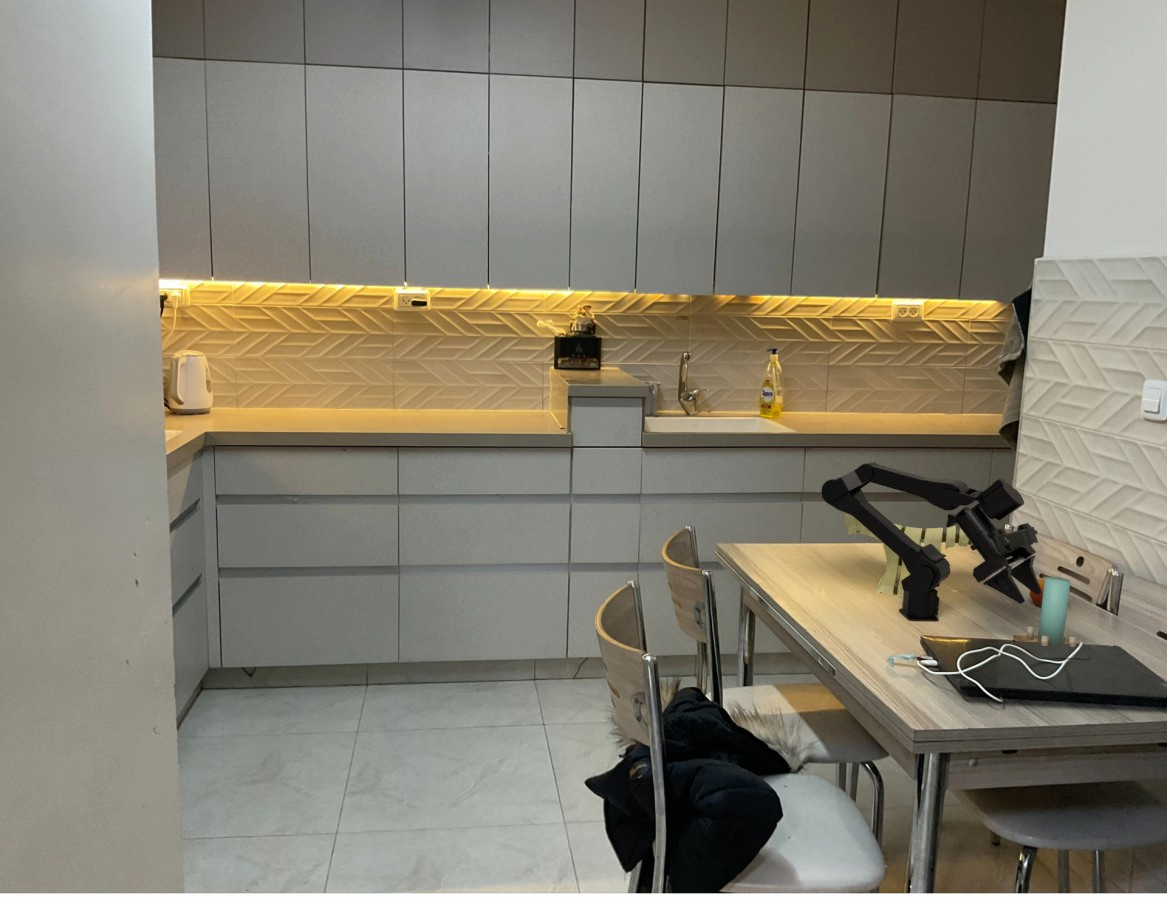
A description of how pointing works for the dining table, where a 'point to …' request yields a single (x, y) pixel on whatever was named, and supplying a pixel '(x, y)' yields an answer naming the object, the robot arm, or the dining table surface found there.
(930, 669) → the dining table surface
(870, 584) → the dining table surface
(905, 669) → the dining table surface
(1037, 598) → the fruit
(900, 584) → the slatted curved stool
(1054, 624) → the post
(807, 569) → the dining table surface
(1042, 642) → the base
